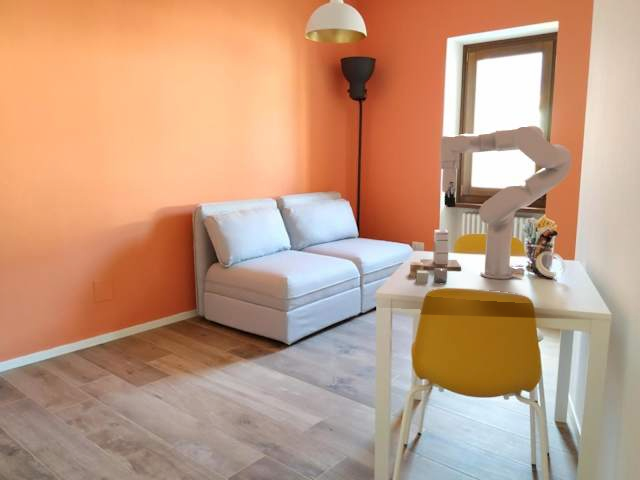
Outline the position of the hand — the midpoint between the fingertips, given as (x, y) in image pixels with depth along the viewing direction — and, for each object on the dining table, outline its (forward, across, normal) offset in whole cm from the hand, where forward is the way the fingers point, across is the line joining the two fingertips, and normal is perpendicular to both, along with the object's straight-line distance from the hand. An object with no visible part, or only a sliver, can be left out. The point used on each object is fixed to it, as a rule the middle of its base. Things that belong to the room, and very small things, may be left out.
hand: (449, 205), depth 222 cm
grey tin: (+28, +24, -7) cm, 37 cm away
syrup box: (+26, -3, -4) cm, 26 cm away
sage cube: (+27, +24, -14) cm, 39 cm away
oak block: (+27, +14, -15) cm, 34 cm away
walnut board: (+27, -3, -4) cm, 27 cm away
